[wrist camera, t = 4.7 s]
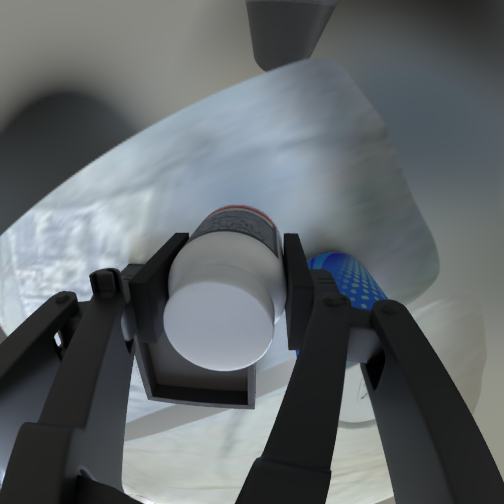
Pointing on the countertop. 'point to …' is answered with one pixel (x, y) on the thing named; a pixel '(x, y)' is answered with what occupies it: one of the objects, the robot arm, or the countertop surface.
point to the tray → (190, 376)
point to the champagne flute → (141, 499)
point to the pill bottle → (227, 290)
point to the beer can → (362, 296)
